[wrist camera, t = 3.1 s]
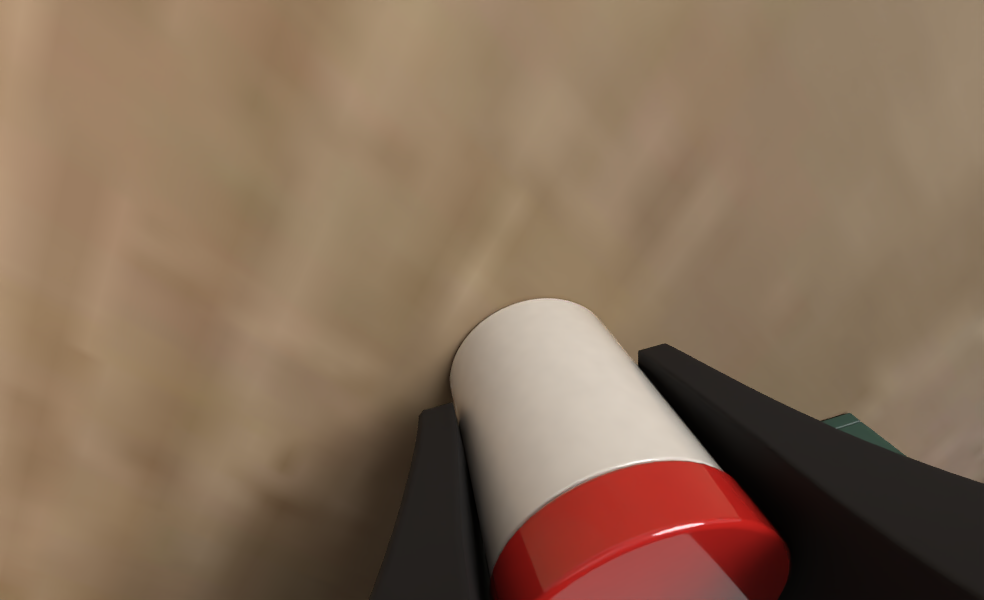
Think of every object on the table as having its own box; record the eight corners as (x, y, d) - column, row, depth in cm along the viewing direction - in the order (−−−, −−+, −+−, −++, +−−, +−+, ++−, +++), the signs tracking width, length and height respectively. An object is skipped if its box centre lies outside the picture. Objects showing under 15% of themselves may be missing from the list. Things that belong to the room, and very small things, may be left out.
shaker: (610, 275, 10) (823, 483, 5) (615, 409, 12) (771, 648, 7) (428, 321, 10) (476, 595, 5) (466, 453, 12) (525, 735, 7)
